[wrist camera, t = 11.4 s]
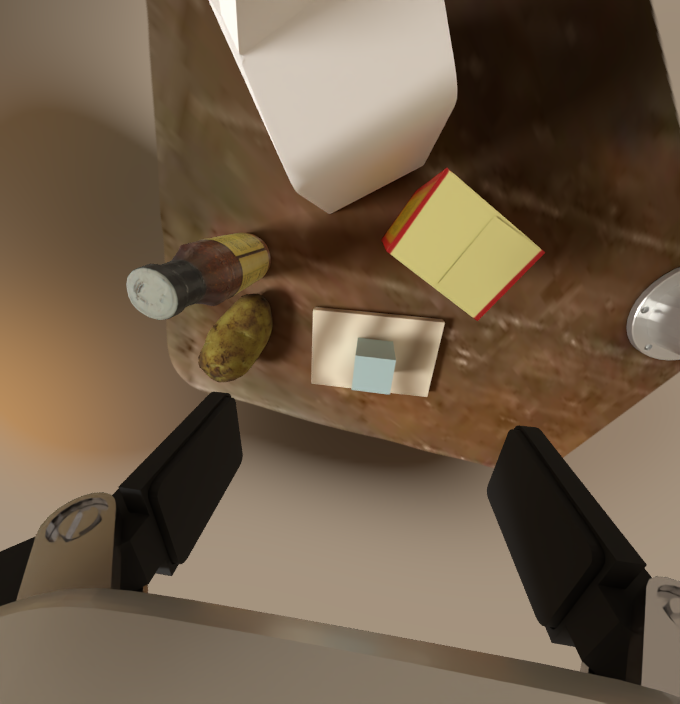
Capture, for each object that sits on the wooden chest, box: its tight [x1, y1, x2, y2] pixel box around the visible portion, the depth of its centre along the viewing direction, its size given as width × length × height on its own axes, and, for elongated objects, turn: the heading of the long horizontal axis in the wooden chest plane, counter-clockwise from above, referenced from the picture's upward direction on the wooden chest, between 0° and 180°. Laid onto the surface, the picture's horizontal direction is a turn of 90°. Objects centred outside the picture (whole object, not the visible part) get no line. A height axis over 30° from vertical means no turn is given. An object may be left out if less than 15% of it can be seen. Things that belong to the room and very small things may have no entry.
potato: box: [198, 294, 272, 382], centre depth 40 cm, size 8×13×8 cm, turn 129°
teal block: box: [352, 338, 396, 395], centre depth 38 cm, size 5×5×6 cm
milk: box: [209, 0, 457, 214], centre depth 20 cm, size 12×12×26 cm
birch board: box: [311, 307, 445, 397], centre depth 42 cm, size 18×12×2 cm, turn 86°
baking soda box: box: [382, 168, 545, 321], centre depth 28 cm, size 10×6×16 cm
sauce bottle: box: [127, 233, 271, 320], centre depth 30 cm, size 6×6×20 cm
